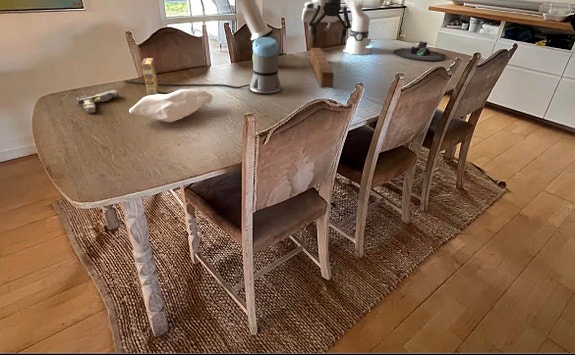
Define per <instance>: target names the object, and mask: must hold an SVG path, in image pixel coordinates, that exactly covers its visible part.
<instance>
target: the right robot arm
mask: <svg viewBox="0 0 575 355" xmlns="http://www.w3.org/2000/svg"><path fill="white" fill-rule="evenodd" d="M385 1H386V0H343V2H344V4H345V6H346V7H347V8H348V9H349V10H350V12H351V21H352V22H351V28H350V32H349V37H348V38H347V39H346V45H345V47H344V48H343V50H342V52H344V53H347V54H351V55H368V54H371V53H372V51H371V50H370V48H372V45H370V42H372V41H371V40H372V39H371V38H369V35H370V34H369V33H370V31H369V28H370V27H369V26H370V22H371V19H370V17H369V15H368V14H367V13H365V12H364V11H363V9H364V8H365V9H379V8H381V7H382V6H384V4H385ZM324 2H325V0H309V1H306V2H304V7H303V9H302V13H301V21H302V23H307V25H308V28H309V29H308V30H309V31H312V27H311V26H309V22H310V20H311V19H312V17H313V15H314V13H315V11H316V10H317V5H321V6H324ZM323 12H324V10H323V9H321V10H320V11H319V13H318V15H317V17H316V19H315V20H314V22H313V23H315V21H316V20H317V19H318V18H319V17H320V16H321V15H322V14H323ZM337 22H338V18H337V16H335V17H333V16H327V15H326V16H325V17H324V18H323V19H322V20H321V21H320V22H319V23H327V26H325V28H324V29H325V31H329V28H330V27H331V24H332V23H337Z"/></svg>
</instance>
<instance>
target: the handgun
mask: <svg viewBox="0 0 575 355" xmlns="http://www.w3.org/2000/svg"><path fill="white" fill-rule="evenodd" d="M119 96H120V94H119V92H118V91H117V90H116V89H112V90H108V91H105V92H104V91H103V92H101V93H96V94H94V95H86V94H85V95H84V94H83V95H81V96H80V97H77V98H76V101H77V104H78V105H82V108H83V109H84V110H85V113H87V114H91V113H95V112H96V104H95V103H98V102H106V101H109V100H111V99H113V98H117V97H119Z"/></svg>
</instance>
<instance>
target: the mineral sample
mask: <svg viewBox="0 0 575 355" xmlns="http://www.w3.org/2000/svg"><path fill="white" fill-rule="evenodd" d="M427 46H428V42H427V41H422V40H421V41H420V42H419V43H418V45H417V46H411V48H406V47H402V48H401V47H400V48H396V49H393V51H392V52H393V53H394V54H395V55H397V56H400V57H403V58H407V59H413V60H420V61H442V60H445V59H446V58H447V57H446V56H447V55H446V54H444V53H440V52H437V51H432V50H430V48H428V47H427Z"/></svg>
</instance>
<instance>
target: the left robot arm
mask: <svg viewBox="0 0 575 355" xmlns="http://www.w3.org/2000/svg"><path fill="white" fill-rule="evenodd" d="M235 3H236V5H237V7H238V9H239V11H240V13H241V14H242V15H241V16H242V17H243V20H244V21H245V24H246V26H247V28H248V30H249V32H250V34H251V36H250V41H251V44H252V57H253V60H252V69H253V70H252V77H251V81H250V83H249V84H244V85H240V86H237V85H235V86H234V85H231V84H223V83H158V82H157V84H158V86H175V87H177V86H178V87H179V86H180V87H193V86H194V87H200V86H201V87H202V86H203V87H206V86H207V87H228V88H233V89H241V88H246V87H249V91H250V92H251V93H253V94H255V95H261V96H271V95H277V94H279V93H281V92H282V85H281V81H280V78H279V55H280V51H281V43H280V41H279V39H278V38H277V36H276V35H275V32H274V30H273V28H272V27H269V26H268V24H267V22H266V20H265V17H264V16H263V14H262V11H261V9H260V7H259V4H258V2H257V0H235ZM341 4H342V0H325V2H324V6H321V5H317V10H316V11H315V13H314V15H313V17H312V19H311V20H310V22H309V25H308V27H309V26H311V27H312V30H311V35H313V39H312V42H313V43H316V38H317V31H318V28H317V26H318V25H319V24H320V23H321V22H320V21H321V20H322V19H323V18H324V17H325V16H326V15H327V16H333V17H335V16H337V20H338V21H339V22H340V24H341V26H342V27H343V28H341V34H340V42H339V43H340V44H341V45H343V44H344V38H345V37H346V36H347V31H348V30H349V29H352V23H351V21H350V18H349V15H348V6H346V5H344V6H342V5H341ZM321 9H323V10H324V12H323V14H322V15H321V16H320V17H319V18H318V19H317V20H316V21H315V22H314V20H315V19H316V17H317V15H318V13H319V11H320V10H321ZM340 11H342V13H343V16H344V20H345V22H344V20H343V19H342V16H341V15H340V14H339V13H340ZM124 83H131V84H139V85H140V84H141V85H146V83H145V81H143V82H142V81H135V80H126V79H125V80H124Z"/></svg>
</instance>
